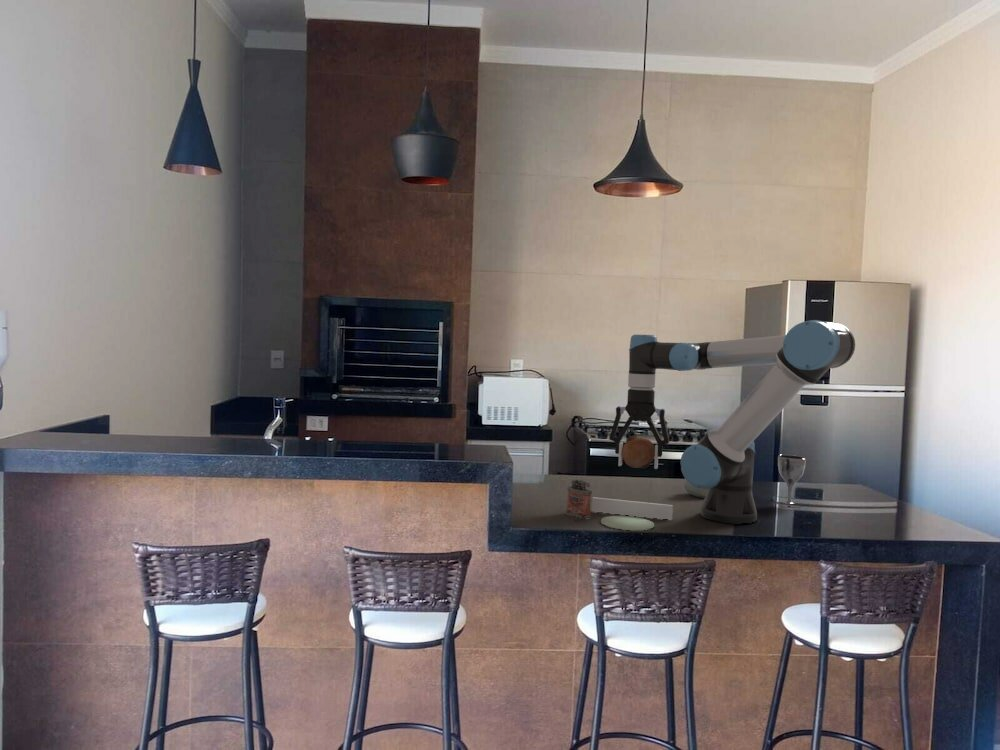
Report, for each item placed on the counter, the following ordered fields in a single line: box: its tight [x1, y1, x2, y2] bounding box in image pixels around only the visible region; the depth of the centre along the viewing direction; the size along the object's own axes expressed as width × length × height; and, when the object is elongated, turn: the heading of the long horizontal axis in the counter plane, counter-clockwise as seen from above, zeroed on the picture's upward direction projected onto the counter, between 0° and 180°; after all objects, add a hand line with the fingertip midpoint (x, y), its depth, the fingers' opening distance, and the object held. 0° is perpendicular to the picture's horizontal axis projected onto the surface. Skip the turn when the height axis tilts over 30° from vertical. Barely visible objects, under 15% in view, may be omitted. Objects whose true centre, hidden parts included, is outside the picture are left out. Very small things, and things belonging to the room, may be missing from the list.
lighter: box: [565, 478, 592, 519], centre depth 216 cm, size 8×3×10 cm, turn 40°
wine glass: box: [777, 453, 807, 504], centre depth 241 cm, size 8×8×15 cm
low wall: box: [591, 496, 674, 521], centre depth 219 cm, size 22×1×4 cm, turn 74°
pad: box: [600, 515, 655, 532], centre depth 209 cm, size 14×14×1 cm
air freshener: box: [684, 480, 709, 499], centre depth 249 cm, size 11×8×10 cm
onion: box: [622, 435, 655, 469], centre depth 225 cm, size 10×9×10 cm
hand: (637, 466), depth 226 cm, fingers closed on onion, 9 cm apart
